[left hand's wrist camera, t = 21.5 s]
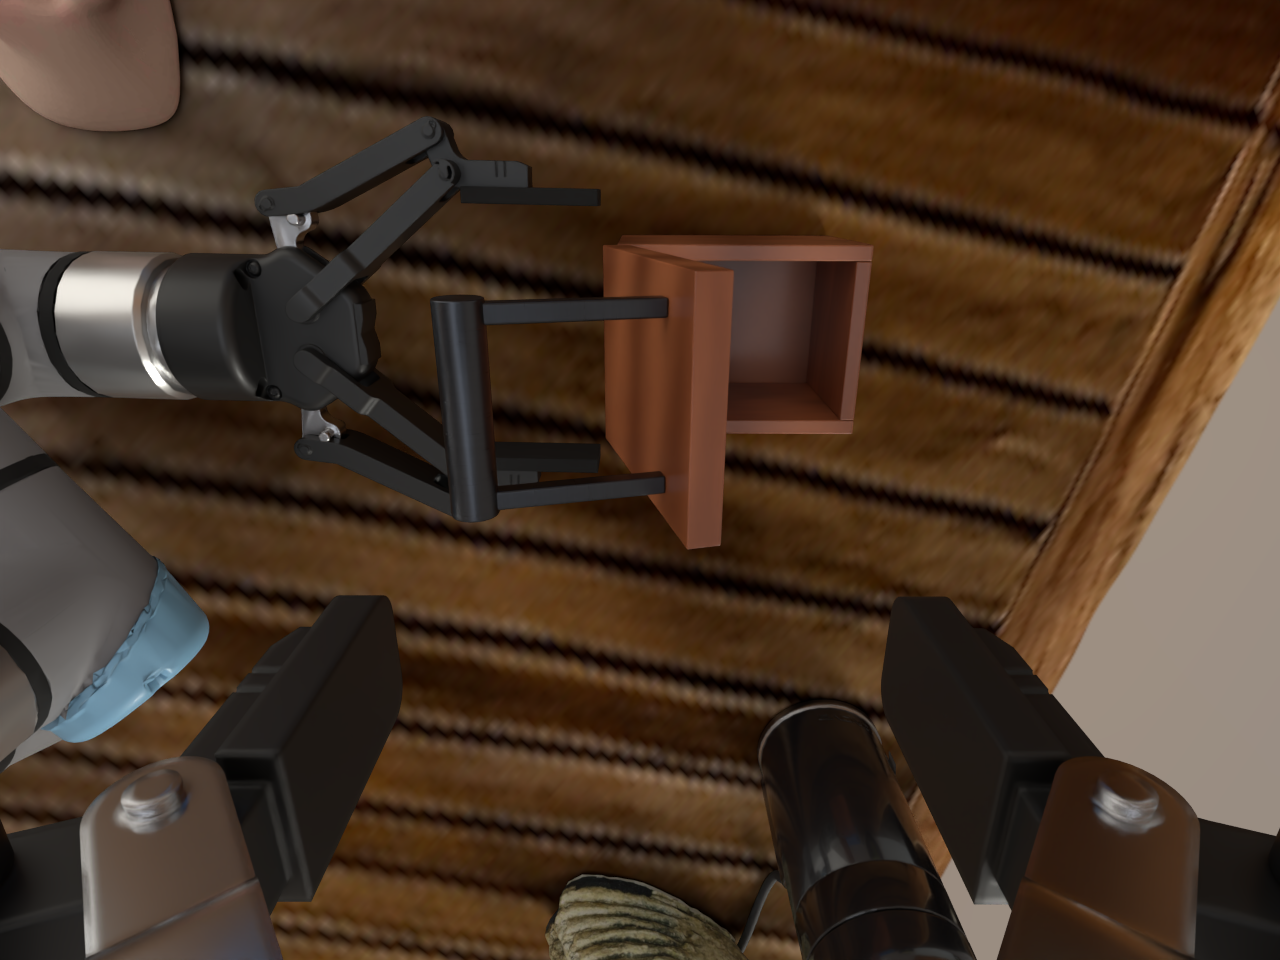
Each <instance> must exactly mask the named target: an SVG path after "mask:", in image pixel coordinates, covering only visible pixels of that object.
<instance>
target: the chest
mask: <svg viewBox="0 0 1280 960" xmlns="http://www.w3.org/2000/svg"><path fill="white" fill-rule="evenodd" d="M617 245H632V246H636V247H640V248H644V249H648V250H652V251H657V252H661V253H665V254H669V255H673V256H677V257H682V258H686V259H690V260H694V261H698V262H702V263H706V264H711V265H715V266H719V267H723V268H727V269H731V270H734V281H733V302H732V322H731V343H730V363H729V384H728V404H727V425H726V433H750V434H852V430H853V419H854V413H855V404H856V395H857V387H858V378H859V369H860V361H861V352H862V343H863V335H864V326H865V317H866V308H867V300H868V291H869V282H870V274H871V265H872V262H871V260H872V256H873V245H870V244H866V243H861V242H856V241H851V240H846V239H841V238H836V237H831V236H768V235H622V236H621V238H620V240H619V242H618V244H617Z"/></svg>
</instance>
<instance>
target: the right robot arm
mask: <svg viewBox="0 0 1280 960" xmlns="http://www.w3.org/2000/svg"><path fill="white" fill-rule="evenodd" d="M427 158H429V160H430V162H431V165H432V167H431V168H430V169H429V170H428V171H427V172H426V173H425V174H424V175H423V176H422V177H421V178H420V179H419V180H418V181H417V182H416V183H415V184H414V185H412V186H411V187H410V188H409V189H408V190H407V191H406V192H405V193H404V194H403V195H402V196H401V197H400V198H399V199H398V200H397V201H396V202H395V203H394V204H393V205H392V206H391V207H390V208H389V209H388V210H387V211H386V212H385V213H384V214H382V215H381V216H380V217H379V218H378V219H377V220H376V221H375V222H374V223H373V224H372V225H371V226H370V227H369V228H368V229H367V230H366V231H365V232H364V233H363V234H362V235H361V236H360V237H359V238H358V239H357V240H356V241H355V242H354V243H352V244H351V245H350V246H349V247H348V248H347V249H346V250H344V251H343V252H341V253H340V254H338V255H337V256H336V257H335V258H334V259H333V260H332V261H331V262H329V261H328V260H326V259H325V258H323V257H322V256H321V255H319V254H318V253H316V252H315V251H313V250H312V249H310V248H308V247H306V246H304V237H305V235H306V233H307V232H309V231H311V230H313V229H315V228H316V227H317V226H318V223H319V217H318V213H320V212H325V211H328V210H332V209H334V208H336V207H339V206H341V205H343V204H344V203H346V202H348V201H350V200H352V199H354V198H355V197H357V196H359V195H361V194H363V193H365V192H366V191H368V190H370V189H372V188H374V187H376V186H377V185H379V184H381V183H383V182H385V181H387V180H388V179H390V178H392V177H394V176H396V175H398V174H399V173H401V172H403V171H405V170H407V169H409V168H410V167H412V166H414V165H416V164H418V163H420V162H421V161H423V160H425V159H427ZM459 191H460V194H461V203H483V204H528V205H573V206H600V205H601V190H600V189H571V188H532V167H530V166H528V165H526V164H524V163H521V162H518V161H486V160H467V159H466V158H464V157H463V156H462V155H461V153H460V152H459V150H458V147H457V145H456V142H455V140H454V133H453V129H452V128H451V127H450V125H449V124H447V123H445V122H443V121H441V120H438V119H435V118H433V117H428V116H426V117H422V118H420V119H418V120H417V121H415V122H413V123H411V124H409V125H408V126H406V127H404V128H402V129H400V130H399V131H397V132H395V133H393V134H391V135H390V136H388V137H386V138H384V139H382V140H381V141H379V142H377V143H375V144H373V145H372V146H370V147H368V148H366V149H364V150H363V151H361V152H359V153H357V154H355V155H354V156H352V157H350V158H348V159H346V160H345V161H343V162H341V163H339V164H338V165H336V166H334V167H332V168H330V169H329V170H327V171H325V172H323V173H321V174H320V175H318V176H316V177H314V178H312V179H311V180H309V181H307V182H305V183H303V184H302V185H300V186H297V187H288V188H278V189H268V190H262V191H259V192H258V193H257V194H256V197H255V206H256V208H257V210H258V211H259V212H260V213H261V214H263V215H265V216H269V219H270V223H271V226H272V230H273V234H274V238H275V242H276V245H277V249H276V250H274V251H273V252H271V253H269V254H263V255H260V254H212V253H190V254H186V255H184V256H181V255H178V254H176V253H167V252H116V251H92V252H53V251H29V250H6V249H0V406H3V405H6V404H9V403H12V402H15V401H18V400H22V399H27V398H35V397H118V398H150V399H182V400H188V399H192V398H196V397H198V398H201V399H205V400H242V401H284V402H288V403H291V404H293V405H295V406H297V407H299V408H301V409H302V434H303V436H302V438H301V439H299V440H298V441H297V442H296V443H295V445H294V450H295V453H296V454H297V456H299V457H300V458H301V459H305V460H311V461H319V462H327V463H335V464H338V465H341V466H343V467H345V468H347V469H349V470H352V471H354V472H356V473H358V474H360V475H363V476H365V477H367V478H369V479H371V480H373V481H376V482H378V483H380V484H382V485H384V486H387V487H389V488H391V489H393V490H395V491H397V492H400V493H402V494H404V495H406V496H408V497H411V498H413V499H415V500H417V501H419V502H422V503H424V504H426V505H428V506H430V507H432V508H435V509H437V510H439V511H441V512H443V513H446V514H448V515H450V516H452V514H451V504H450V494H449V484H448V474H447V464H446V454H445V444H444V434H443V425H442V424H441V423H439V422H438V421H437V420H435V419H434V418H433V417H432V416H430V415H429V414H428V413H426V412H425V411H424V410H423V409H421V408H420V407H419V406H417V405H416V404H415V403H414V402H412V401H411V400H410V399H408V398H407V397H406V396H405V395H403V394H402V393H401V392H399V391H398V390H397V389H396V388H395V387H394V385H393V383H392V381H391V380H390V379H388V378H387V377H386V376H385V375H383V374H382V373H381V372H379V371H378V370H377V369H376V368H375V366H376V364H377V361H378V358H380V357H381V350H380V342H379V340H378V337H377V334H376V332H375V329H374V326H375V320H376V304H375V299H371V297H370V295H369V293H368V292H367V290H366V289H365V288H364V287H363V286H362V284H363V283H364V282H365V281H367V280H368V279H369V278H370V277H371V276H372V275H373V274H374V273H375V272H376V271H377V270H378V269H379V268H380V267H381V265H382V263H383V262H384V261H385V260H387V259H388V258H389V257H390V256H391V255H392V254H393V253H394V252H395V251H396V250H397V249H398V248H399V247H400V246H401V245H402V244H403V243H405V242H406V241H407V240H408V239H409V238H410V237H411V236H412V235H413V234H414V233H415V232H416V231H417V230H418V229H419V228H420V227H421V226H423V225H424V224H425V223H426V222H427V221H428V220H429V219H430V218H431V217H432V216H433V215H434V214H435V213H436V212H437V211H438V210H439V209H441V208H442V207H443V206H444V205H445V204H446V203H447V202H448V201H449V200H450V199H451V198H452V197H453V196H454V195H455V194H456V193H457V192H459ZM337 398H338V399H340V400H341V401H342V402H344V403H345V404H346V405H348V406H349V407H350V408H351V409H353V410H354V411H356V412H357V413H359V414H363V415H367V416H369V417H370V418H372V419H373V420H374V421H376V422H377V423H378V424H379V425H381V426H382V427H383V428H385V429H386V430H387V431H389V432H390V433H391V434H393V435H394V436H395V437H397V438H398V439H399V440H401V441H402V442H403V443H404V444H406V445H407V446H408V447H410V448H411V449H412V450H414V451H415V452H416V453H418V454H419V455H420V456H422V457H423V458H424V459H426V460H427V461H428V462H429V463H431V464H432V465H433V466H432V465H430V464H428V463H426V462H424V461H422V460H419V459H417V458H415V457H413V456H411V455H409V454H407V453H404V452H402V451H400V450H398V449H396V448H394V447H392V446H389V445H387V444H385V443H383V442H381V441H379V440H377V439H375V438H372V437H370V436H368V435H366V434H363V433H361V432H357V431H354V430H350V429H346V424H345V422H344V421H342V420H339V419H336V418H334V417H332V416H331V415H330V414H329V413H328V410H327V405H328V404H330V403H332V402H333V401H335V400H336V399H337ZM495 453H496V467H497V480H498V486H503V485H514V484H524V483H535V482H539V479H540V476H541V472H586V473H598V468H599V461H600V444H579V443H529V442H495ZM434 466H435V467H434ZM59 467H60V466H58V465H57V464H56V463H55V462H54V461H53V460H52V459H51V458H50V457H49V456H48V455H47V454H46V453H45V452H44V451H43V450H42V449H41V448H40V447H39V446H38V445H37V444H36V443H35V442H34V441H33V440H32V439H31V438H30V437H29V436H28V435H27V434H26V433H25V432H24V431H23V430H22V429H21V428H20V427H19V426H18V425H17V424H16V423H15V422H14V421H13V420H12V419H11V418H10V417H9V416H8V415H7V414H6V413H5V412H4V411H3V410H2V409H1V408H0V773H1V772H3V771H4V770H5V769H6V768H7V767H9V766H10V765H12V764H14V763H16V762H18V761H20V760H22V759H24V758H26V757H28V756H30V755H32V754H34V753H36V752H38V751H40V750H42V749H44V748H46V747H49V746H51V745H53V744H55V743H57V742H59V741H61V740H65V741H68V742H75V743H76V742H83V741H87V740H89V739H92V738H94V737H96V736H98V735H99V734H101V733H103V732H104V731H106V730H107V729H109V728H110V727H112V726H113V725H115V724H116V723H118V722H119V721H120V720H122V719H123V718H125V717H126V716H127V715H128V714H130V713H131V712H132V711H134V710H135V709H136V708H138V707H139V706H140V705H141V704H143V703H144V702H145V701H146V700H147V699H149V698H150V697H151V696H152V695H153V694H154V693H155V692H156V691H157V690H158V689H159V688H160V687H161V686H163V685H164V684H165V683H166V682H167V681H169V680H170V679H171V678H173V677H174V676H175V675H176V674H177V673H179V672H180V671H181V670H182V669H183V668H184V667H185V666H186V665H187V664H188V663H189V662H190V661H191V660H192V659H193V658H194V656H195V655H196V654H197V653H198V652H199V651H200V649H201V648H202V646H203V645H204V643H205V641H206V640H207V636H208V633H209V622H208V619H207V617H206V615H205V613H204V612H203V611H202V610H201V608H200V607H199V606H198V605H197V604H196V603H195V601H194V600H193V599H192V598H191V597H190V596H189V595H188V593H187V592H186V591H185V590H184V589H183V588H182V586H181V585H180V584H179V583H178V582H177V581H176V580H175V578H174V577H173V576H172V575H171V574H170V573H169V572H168V570H167V569H166V567H165V565H164V564H163V563H162V562H161V561H160V559H158V558H156V557H155V556H151V555H150V554H149V553H148V552H147V551H146V550H145V549H144V548H143V547H142V546H141V545H140V544H139V543H138V542H137V541H136V540H134V539H133V538H132V537H131V536H130V535H129V534H128V533H127V532H126V531H125V530H124V529H123V528H122V527H121V526H120V525H119V524H118V523H117V522H116V521H115V520H114V519H113V518H112V517H110V516H109V515H108V514H107V513H106V512H105V511H104V510H103V509H102V508H101V507H100V506H99V505H98V504H97V503H96V502H95V501H94V500H93V499H92V498H91V497H90V496H89V495H88V494H86V493H85V492H84V491H83V490H82V489H81V488H80V487H79V486H78V485H77V484H76V483H75V482H74V481H73V480H72V479H71V478H70V477H69V476H68V475H67V474H66V473H65V472H64V471H62V470H61V469H60V468H59Z"/></svg>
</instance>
